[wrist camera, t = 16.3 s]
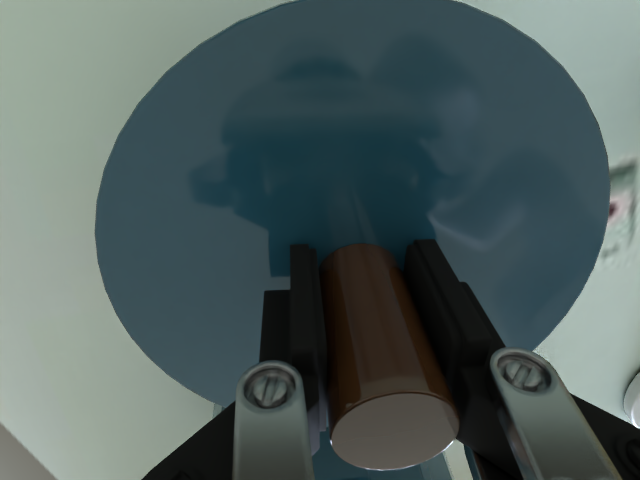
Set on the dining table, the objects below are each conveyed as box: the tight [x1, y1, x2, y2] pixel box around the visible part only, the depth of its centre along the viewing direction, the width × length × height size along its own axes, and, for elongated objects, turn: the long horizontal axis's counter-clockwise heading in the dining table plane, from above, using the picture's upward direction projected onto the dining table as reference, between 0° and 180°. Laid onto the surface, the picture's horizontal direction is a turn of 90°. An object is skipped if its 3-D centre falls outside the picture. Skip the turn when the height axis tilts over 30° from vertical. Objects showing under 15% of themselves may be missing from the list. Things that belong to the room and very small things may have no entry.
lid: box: [95, 0, 611, 470], centre depth 11 cm, size 15×15×6 cm
